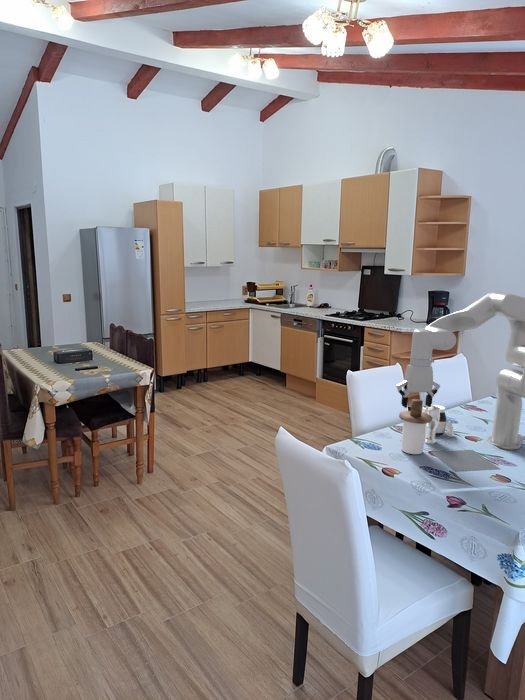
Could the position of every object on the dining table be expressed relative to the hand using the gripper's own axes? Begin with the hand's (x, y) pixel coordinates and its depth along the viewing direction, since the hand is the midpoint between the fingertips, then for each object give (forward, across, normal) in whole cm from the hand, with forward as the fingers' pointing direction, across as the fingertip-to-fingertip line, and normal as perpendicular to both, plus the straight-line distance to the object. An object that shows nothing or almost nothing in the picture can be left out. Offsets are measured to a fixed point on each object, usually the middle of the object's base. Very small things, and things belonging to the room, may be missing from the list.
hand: (416, 406), depth 196 cm
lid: (+5, 0, 0) cm, 5 cm away
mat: (+19, -16, +10) cm, 27 cm away
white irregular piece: (+19, -22, -19) cm, 35 cm away
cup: (+19, 0, 0) cm, 19 cm away
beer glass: (+19, -12, -10) cm, 25 cm away
